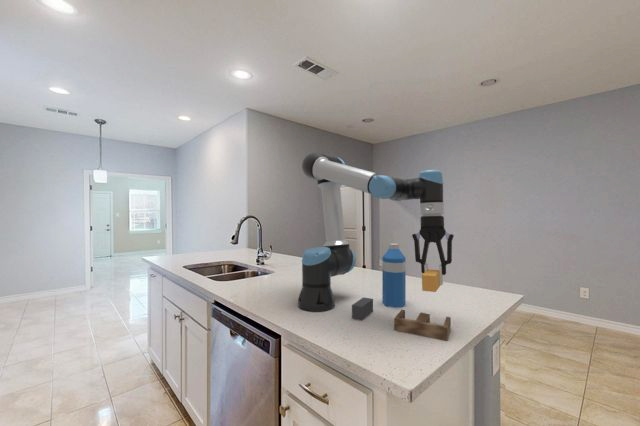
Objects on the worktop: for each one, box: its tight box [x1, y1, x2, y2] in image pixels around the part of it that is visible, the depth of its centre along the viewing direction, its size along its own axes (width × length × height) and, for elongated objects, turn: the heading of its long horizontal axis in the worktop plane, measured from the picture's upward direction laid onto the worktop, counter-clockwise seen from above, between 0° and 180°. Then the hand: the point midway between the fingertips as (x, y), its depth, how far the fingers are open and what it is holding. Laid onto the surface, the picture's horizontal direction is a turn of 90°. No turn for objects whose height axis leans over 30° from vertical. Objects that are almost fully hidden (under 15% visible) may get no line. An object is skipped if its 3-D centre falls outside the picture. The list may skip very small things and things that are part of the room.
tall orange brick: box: [421, 268, 441, 293], centre depth 95 cm, size 4×11×5 cm, turn 150°
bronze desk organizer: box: [393, 309, 452, 342], centre depth 93 cm, size 16×10×4 cm, turn 60°
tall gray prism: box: [351, 297, 374, 321], centre depth 107 cm, size 4×11×5 cm, turn 150°
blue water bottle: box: [381, 243, 407, 308], centre depth 120 cm, size 9×9×25 cm
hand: (433, 283), depth 98 cm, fingers closed on tall orange brick, 4 cm apart
